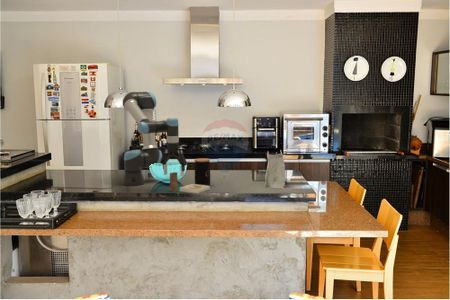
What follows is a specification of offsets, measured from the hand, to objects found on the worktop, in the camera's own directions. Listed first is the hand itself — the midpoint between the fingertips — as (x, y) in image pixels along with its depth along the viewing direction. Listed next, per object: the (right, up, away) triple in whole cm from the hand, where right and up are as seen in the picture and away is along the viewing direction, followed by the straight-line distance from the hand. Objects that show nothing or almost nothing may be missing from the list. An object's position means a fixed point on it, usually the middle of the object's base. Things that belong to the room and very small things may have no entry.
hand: (173, 175), depth 283 cm
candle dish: (+13, -10, +3) cm, 17 cm away
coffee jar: (+18, -8, +19) cm, 27 cm away
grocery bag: (+68, -7, +25) cm, 73 cm away
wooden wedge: (0, -10, +2) cm, 10 cm away
